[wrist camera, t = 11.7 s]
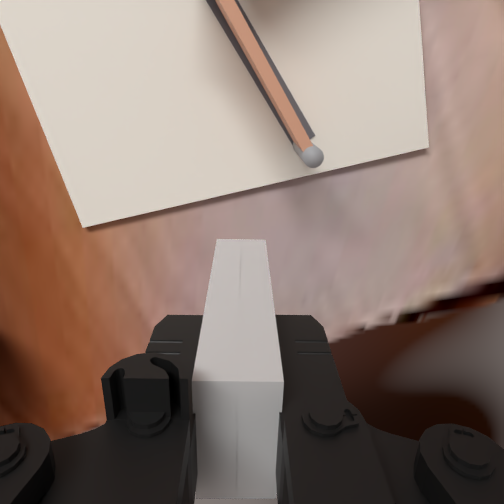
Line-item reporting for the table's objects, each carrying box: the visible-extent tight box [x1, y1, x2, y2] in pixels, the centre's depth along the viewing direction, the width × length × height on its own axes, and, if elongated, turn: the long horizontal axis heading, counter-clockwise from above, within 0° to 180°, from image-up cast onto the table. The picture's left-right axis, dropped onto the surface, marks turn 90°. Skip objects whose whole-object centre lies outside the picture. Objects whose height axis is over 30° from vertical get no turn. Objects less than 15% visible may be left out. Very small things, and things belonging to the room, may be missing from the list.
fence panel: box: [215, 0, 324, 168], centre depth 29 cm, size 13×1×7 cm, turn 31°
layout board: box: [0, 0, 429, 228], centre depth 31 cm, size 31×26×1 cm
